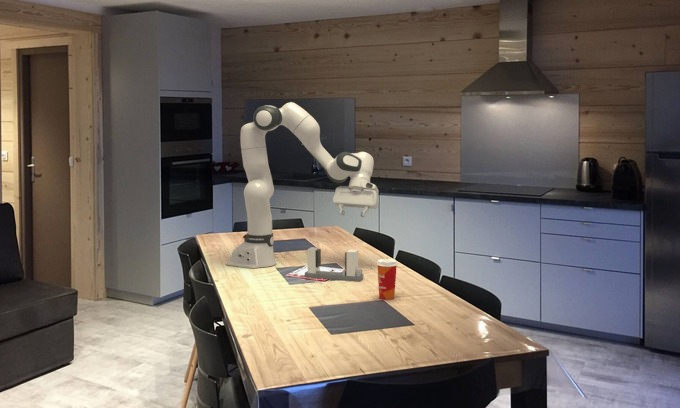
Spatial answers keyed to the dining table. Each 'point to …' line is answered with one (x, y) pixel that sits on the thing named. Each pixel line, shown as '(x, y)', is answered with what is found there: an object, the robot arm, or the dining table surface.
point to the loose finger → (351, 262)
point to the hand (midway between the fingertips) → (352, 215)
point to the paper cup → (386, 278)
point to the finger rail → (315, 272)
